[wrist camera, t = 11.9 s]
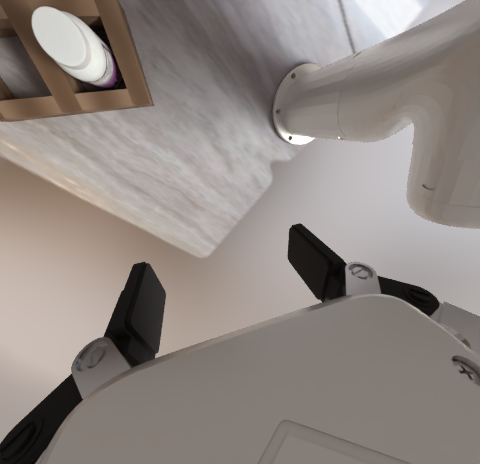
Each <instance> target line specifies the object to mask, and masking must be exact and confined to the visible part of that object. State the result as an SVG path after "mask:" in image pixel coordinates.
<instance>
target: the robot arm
mask: <svg viewBox="0 0 480 464" xmlns="http://www.w3.org/2000/svg"><path fill="white" fill-rule="evenodd" d="M291 76H292V78H291ZM276 110H277V113H276ZM273 122H274V126H275V129H276V131H277V133H278V134H279V136H280V137H281V138H282V139H283V140H284V141H286V142H288V143H290V144H295V145H301V144H305V143H308V142H310V141H311V140H313V139H314V138H321V139H332V140H342V141H343V140H344V141H353V142H375V141H379V140H383V139H385V138H388V137H390V136H392V135H394V134H396V133H397V132H399V131H401V130H402V129H404V128H405V127H407V126H408V125H409V124H411V123H412V122H413V124H414V138H413V151H412V157H411V164H410V170H409V176H408V183H407V201H408V204H409V206H410V208H411V209H412V210H413V211H414V212H415V213H416V214H417V215H419V216H421V217H422V218H424V219H426V220H429V221H432V222H435V223H438V224H442V225H448V226H453V227H461V228H473V229H480V0H465V1H463V2H462V3H460V4H458V5H456V6H454V7H453V8H451V9H449V10H447V11H445V12H444V13H442V14H440V15H438V16H436V17H434V18H432V19H430V20H428V21H426V22H424V23H422V24H420V25H418V26H416V27H414V28H412V29H409V30H407V31H405V32H403V33H401V34H399V35H396V36H394V37H392V38H390V39H387V40H385V41H383V42H380V43H378V44H376V45H374V46H371V47H369V48H367V49H364V50H362V51H360V52H357V53H355V54H353V55H350V56H348V57H346V58H344V59H341V60H339V61H337V62H334V63H332V64H330V65H327V66H325V67H321V66H320V65H317V64H315V63H306V64H302V65H300V66H298V67H296V68H295V69H293V70H292V71H290V72H289V73H288V74H287V75H286V76H285V77H284V79H283V80H282V82H281V83H280V85H279V87H278V89H277V91H276V95H275V98H274V103H273ZM288 138H289V139H288ZM288 260H289V262H290V263H291V265H292V266H293V267H294V269H295V270H296V271H297V273H298V274H299V275H300V277H301V278H302V279H303V280H304V282H305V283H306V284H307V286H308V287H309V289H310V290H311V291H312V292H313V294H314V295H315V297H316V298H317V299H319V300H321V301H322V303H319V304H316V305H313V306H310V307H307V308H303V309H301V310H298V311H295V312H291V313H288V314H285V315H282V316H279V317H276V318H273V319H270V320H267V321H264V322H261V323H258V324H255V325H252V326H249V327H246V328H243V329H240V330H237V331H234V332H231V333H228V334H225V335H222V336H219V337H216V338H213V339H210V340H207V341H204V342H201V343H198V344H195V345H192V346H189V347H187V348H183V349H181V350H178V351H175V352H172V353H169V354H167V355H164V356H161V357H158V358H155V354H156V353H158V351H159V345H160V337H161V329H162V322H163V313H164V305H165V299H166V294H165V290H164V288H163V287H162V285H161V283H160V281H159V280H158V278H157V276H156V274H155V272H154V271H153V269H152V267H151V266H150V264H149V263H145V262H141V263H137V264H134V265H133V267H132V270H131V272H130V275H129V278H128V280H127V283H126V285H125V288H124V290H123V291H122V292H121V294H120V297H119V299H118V302H117V304H116V307H115V309H114V312H113V314H112V317H111V319H110V322H109V324H108V327H107V329H106V332H105V334H104V337H102V338H98V339H96V340H94V341H92V342H90V343H89V344H88V345H86V346H85V347H84V348H83V349H82V350H81V351H80V352H79V354H78V355H77V356H76V358H75V360H74V361H73V364H72V367H71V370H72V374H71V375H70V376H69V377H68V378H66V379H65V380H64V381H63V382H62V383H61V384H60V385H59V386H58V387H57V388H56V389H55V390H54V391H52V392H51V393H50V394H49V395H48V396H47V397H46V398H45V399H44V400H43V401H42V402H41V403H40V404H38V405H37V406H36V407H35V408H34V409H33V410H32V411H31V412H30V413H29V414H28V415H27V416H26V417H25V418H24V419H22V420H21V421H20V422H19V423H18V424H17V425H16V426H15V427H14V428H13V429H12V430H11V431H10V432H9V433H8V435H7V436H6V437H5V438H4V440H3V441H2V442H1V444H0V464H480V317H479V316H477V315H475V314H472V313H470V312H468V311H465V310H463V309H461V308H458V307H456V306H453V305H451V304H449V303H447V302H443V303H440V302H439V301H438V300H437V298H436V297H435V296H434V295H433V294H431V293H430V292H429V291H427V290H425V289H423V288H421V287H418V286H415V285H410V284H407V283H403V282H399V281H396V280H392V279H388V278H384V277H380V276H377V274H376V272H375V270H373V268H371V267H370V266H368V265H366V264H363V263H360V262H351V263H348V264H346V263H345V262H344V260H343V259H342V258H340V257H339V256H338V255H337V254H336V253H335V252H333V251H332V250H331V249H330V248H329V247H328V246H326V245H325V244H324V243H323V242H322V241H321V240H319V239H318V238H317V237H316V236H315V235H314V234H312V233H311V232H310V231H309V230H308V229H307V228H305V227H304V226H303V225H302V224H296V225H292V227H291V228H290V229H289V244H288Z"/></svg>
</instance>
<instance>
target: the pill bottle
mask: <svg viewBox="0 0 480 464" xmlns="http://www.w3.org/2000/svg"><path fill="white" fill-rule="evenodd" d="M32 29H33V32H34V35H35V37H36V39H37V41H38V42H39V44H40V45H41V47H42V48H43V49H44V50H45V52H46V53H47V54H48V55H49V56H51V57H52V58H53V59H54V60H55V62H56V63H57V64H58V65H59V66H60V67H61V68H62V69H63V70H65V71H66V72H67V73H69V74H70V75H72V76H73V77H75V78H77V79H79V80H82V81H84V82H87V83H89V84H92V85H94V86H96V87H99V88H102V89H114V88H116V87H117V86H118V85H119V84H120V81H121V79H122V74H121V71H120V68H119V66H118V63H117V60H116V58H115V55H114V52H113V51H112V50H111V49H110V48H109V47H108V46H107V44H105V43H104V42H103V41H102V40H101V39H100V38H99V37H98V36H97V35H96V34H95V33H94V32H93V31H92V30H91V29H90V28H89V27H88V26H87V25H86V24H85V23H84V22H83V21H82V20H80V19H79V18H77V17H76V16H74V15H72V14H70V13H67V12H63V11H59V10H57V9H55V8H52V7H48V6H43V7H39V8H37V9H36V10H35V11H34V13H33V15H32Z"/></svg>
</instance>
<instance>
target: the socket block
mask: <svg viewBox="0 0 480 464" xmlns="http://www.w3.org/2000/svg"><path fill="white" fill-rule="evenodd" d="M43 6H48V7H52V8H55V9H57V10H59V11H63V12H67V13H70V14H72V15H74V16H76V17H77V18H79V19H80V20H82V21H83V22H84V23H85V24H86V25H87V26H88V27H89V28H90V29H91V30H92V31H93V32H106V34H107V36H108V39H109V42H110V44H111V47H112V50H113V52H114V55H115V58H116V60H117V63H118V66H119V68H120V71H121V74H122V77H123V79H124V82H125V85H126V87H127V89H120V90H109V91H99V92H88V93H86V91H85V89H84V87H83V85H82V83H81V81H80V80H79V79H77V78H75V77H73V76H72V75H70V74H69V73H67V72H66V71H65V70H63V69H62V68H61V67H60V66H59V65H58V64H57V63H56V62H55V60H54V59H53V58H52V57H51V56H49V55H48V54H47V53H46V52H45V50H44V49H43V48H42V47H41V45H40V44H39V42H38V41H37V39H36V37H35V35H34V32H33V29H32V15H33V13H34V11H35V10H36V9H37V8H39V7H43ZM5 36H19V38H20V40H21V42H22V43H23V45H24V47H25V49H26V50H27V52H28V54H29V56H30V57H31V59H32V61H33V63H34V64H35V66H36V68H37V70H38V71H39V73H40V75H41V77H42V78H43V80H44V82H45V84H46V85H47V87H48V89H49V91H50V92H51V94H52V96H46V97H36V98H25V99H15V98H14V96H13V95H12V93H11V92H10V90H9V89H8V87H7V86H6V84H5V83H4V82H3V80H2V79H1V77H0V121H5V122H13V121H22V120H31V119H40V118H48V117H57V116H66V115H75V114H84V113H93V112H102V111H111V110H120V109H129V108H138V107H147V106H154V104H153V101H152V98H151V95H150V91H149V88H148V85H147V82H146V79H145V76H144V73H143V69H142V66H141V63H140V60H139V57H138V54H137V50H136V47H135V44H134V41H133V38H132V35H131V32H130V28H129V25H128V22H127V19H126V16H125V13H124V10H123V8H122V6H121V5H120V3H119V1H118V0H0V37H5Z"/></svg>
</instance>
